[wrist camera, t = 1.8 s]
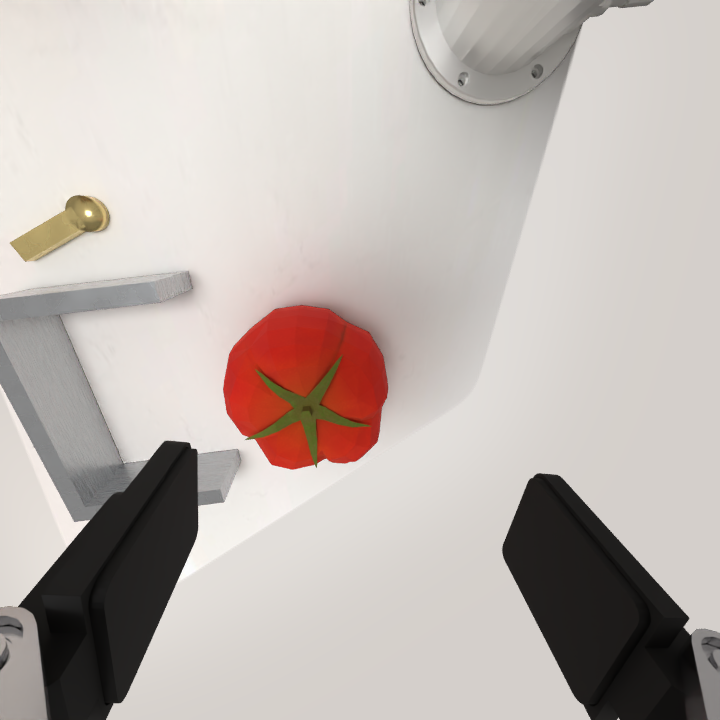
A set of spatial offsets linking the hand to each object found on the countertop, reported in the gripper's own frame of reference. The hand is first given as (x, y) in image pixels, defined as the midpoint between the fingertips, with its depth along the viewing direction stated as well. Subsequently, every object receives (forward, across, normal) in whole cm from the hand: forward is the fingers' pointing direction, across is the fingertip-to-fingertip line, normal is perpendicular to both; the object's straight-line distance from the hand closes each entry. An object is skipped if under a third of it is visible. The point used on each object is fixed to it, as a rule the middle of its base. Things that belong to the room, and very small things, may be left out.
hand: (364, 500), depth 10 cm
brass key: (+24, +24, -3) cm, 34 cm away
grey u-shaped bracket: (+24, +17, +10) cm, 31 cm away
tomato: (+24, +2, +6) cm, 25 cm away
